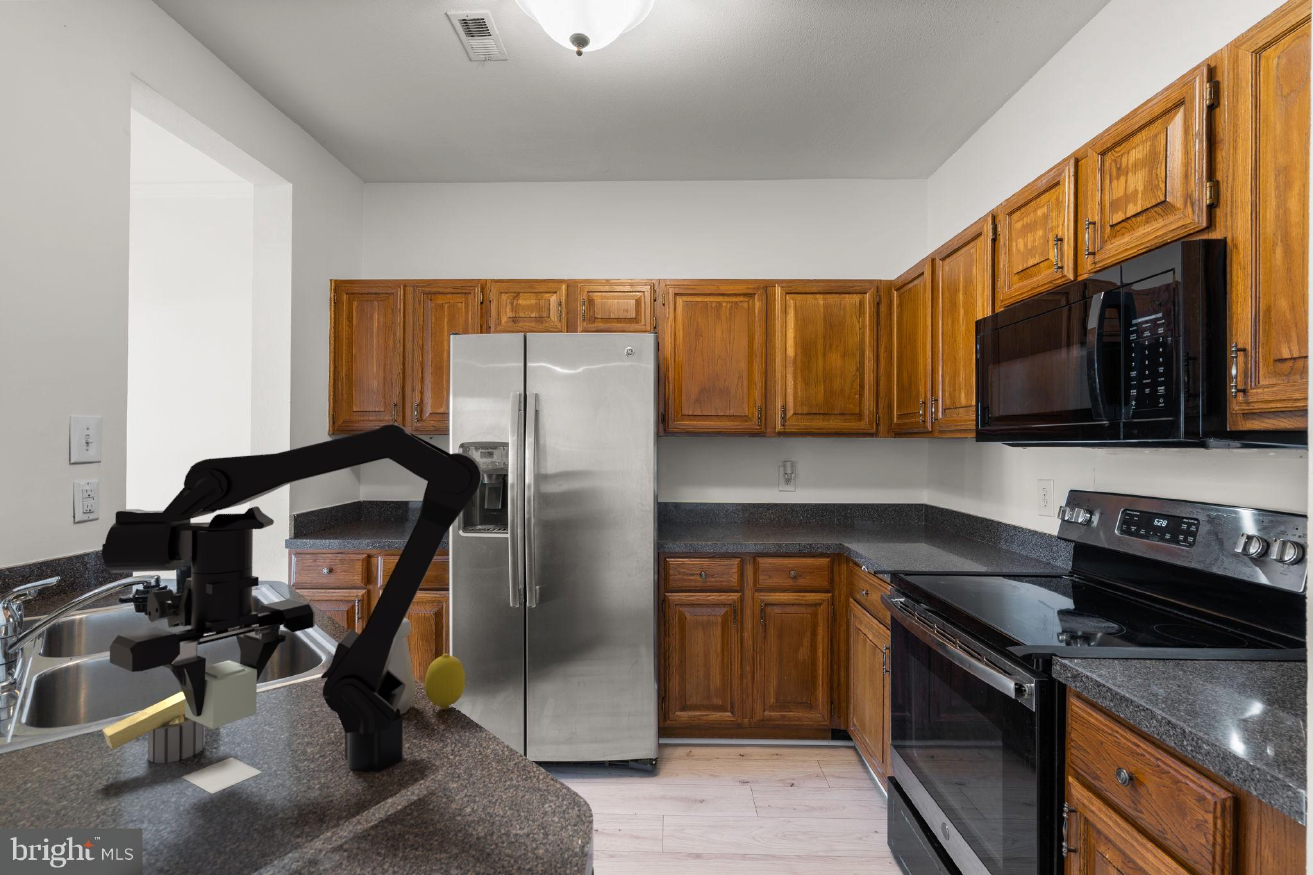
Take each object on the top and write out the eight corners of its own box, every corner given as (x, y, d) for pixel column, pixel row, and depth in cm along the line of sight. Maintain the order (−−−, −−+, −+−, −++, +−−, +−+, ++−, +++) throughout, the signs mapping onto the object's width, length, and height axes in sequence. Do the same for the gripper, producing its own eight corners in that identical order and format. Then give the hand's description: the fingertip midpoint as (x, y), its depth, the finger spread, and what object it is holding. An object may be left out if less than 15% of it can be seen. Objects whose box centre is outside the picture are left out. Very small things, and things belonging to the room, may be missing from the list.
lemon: (426, 720, 90) (426, 662, 90) (423, 705, 95) (423, 650, 95) (467, 713, 92) (467, 657, 92) (462, 699, 97) (463, 645, 97)
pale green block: (256, 713, 73) (256, 667, 73) (212, 729, 69) (213, 680, 69) (228, 702, 76) (228, 658, 76) (185, 716, 72) (185, 669, 72)
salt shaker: (400, 720, 89) (400, 626, 89) (363, 716, 91) (364, 623, 91) (423, 703, 95) (424, 615, 95) (388, 700, 96) (389, 613, 96)
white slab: (283, 772, 75) (283, 729, 75) (186, 815, 67) (186, 766, 67) (207, 737, 84) (207, 698, 84) (113, 771, 75) (113, 728, 75)
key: (231, 716, 84) (219, 673, 82) (238, 721, 83) (226, 678, 81) (117, 776, 74) (102, 729, 73) (124, 783, 73) (108, 736, 72)
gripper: (267, 550, 85) (266, 669, 85) (87, 575, 69) (86, 722, 69) (318, 558, 79) (316, 686, 79) (135, 588, 63) (133, 748, 63)
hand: (221, 707), depth 73 cm, fingers closed on pale green block, 4 cm apart
